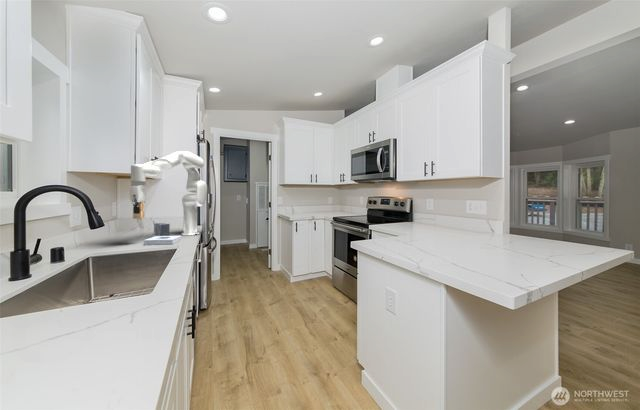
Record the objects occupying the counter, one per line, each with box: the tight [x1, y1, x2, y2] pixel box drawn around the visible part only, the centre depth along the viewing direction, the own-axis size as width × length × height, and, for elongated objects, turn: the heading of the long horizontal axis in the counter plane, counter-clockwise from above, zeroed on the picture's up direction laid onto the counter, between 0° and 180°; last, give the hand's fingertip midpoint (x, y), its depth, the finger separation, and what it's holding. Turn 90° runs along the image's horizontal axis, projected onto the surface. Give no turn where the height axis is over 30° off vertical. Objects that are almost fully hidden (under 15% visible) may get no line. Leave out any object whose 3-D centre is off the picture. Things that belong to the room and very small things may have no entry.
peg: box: [132, 202, 145, 220], centre depth 159 cm, size 4×4×10 cm
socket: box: [143, 235, 182, 246], centre depth 164 cm, size 16×16×3 cm
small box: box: [153, 222, 171, 237], centre depth 180 cm, size 11×6×10 cm, turn 56°
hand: (138, 212), depth 159 cm, fingers closed on peg, 4 cm apart
